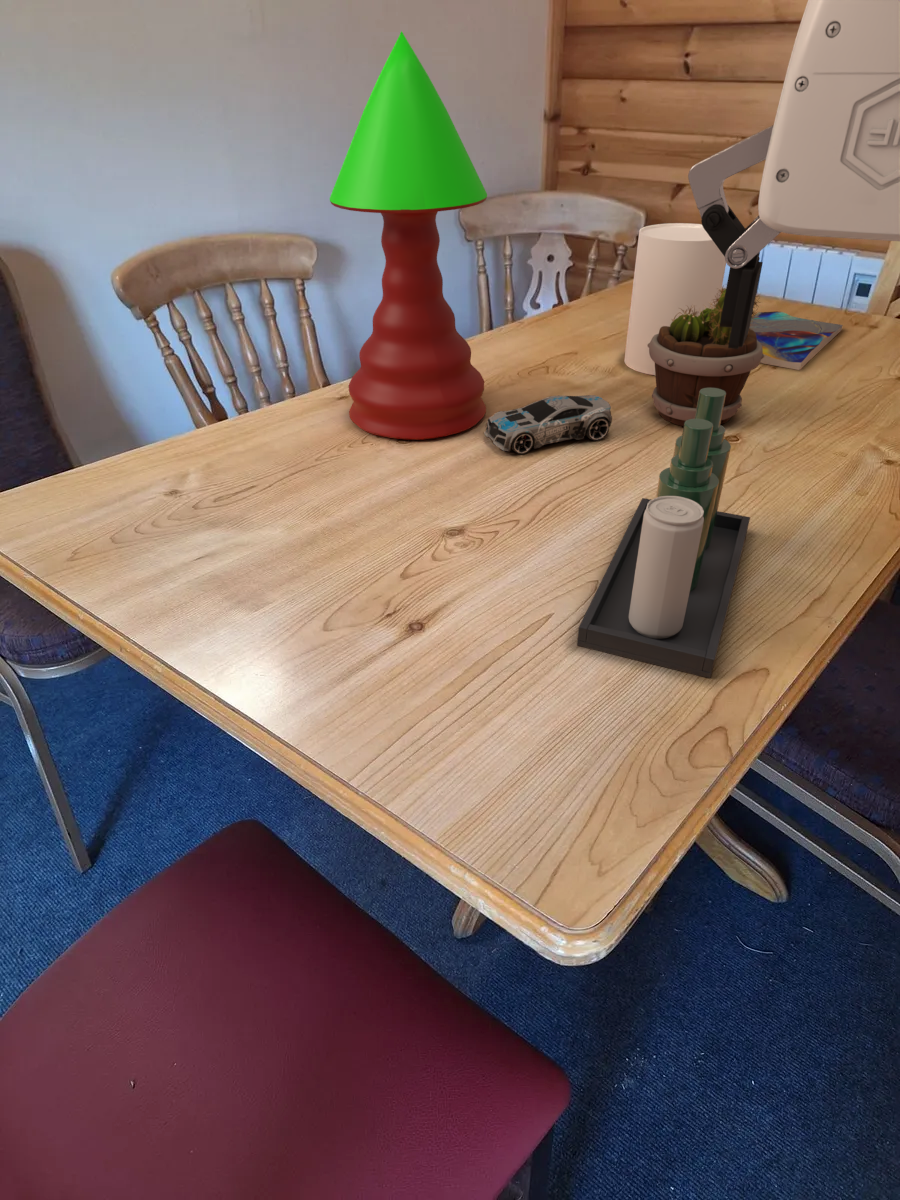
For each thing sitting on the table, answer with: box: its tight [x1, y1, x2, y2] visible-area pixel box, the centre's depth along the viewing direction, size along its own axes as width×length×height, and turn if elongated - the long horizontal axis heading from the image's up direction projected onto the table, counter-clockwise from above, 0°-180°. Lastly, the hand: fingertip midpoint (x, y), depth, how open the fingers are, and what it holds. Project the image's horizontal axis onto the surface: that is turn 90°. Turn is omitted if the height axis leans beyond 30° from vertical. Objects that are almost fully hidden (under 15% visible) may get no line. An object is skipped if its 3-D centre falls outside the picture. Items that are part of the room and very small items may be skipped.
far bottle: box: [672, 388, 732, 550], centre depth 77 cm, size 5×5×16 cm
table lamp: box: [329, 30, 488, 441], centre depth 100 cm, size 20×20×45 cm
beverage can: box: [629, 496, 704, 639], centre depth 67 cm, size 5×5×12 cm
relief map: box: [749, 310, 844, 371], centre depth 136 cm, size 25×15×2 cm, turn 144°
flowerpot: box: [647, 285, 764, 427], centre depth 105 cm, size 14×15×20 cm
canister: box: [623, 222, 727, 376], centre depth 123 cm, size 14×14×20 cm
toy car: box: [483, 394, 613, 455], centre depth 104 cm, size 7×17×5 cm, turn 111°
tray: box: [576, 497, 751, 679], centre depth 76 cm, size 12×26×2 cm, turn 156°
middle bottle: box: [655, 419, 719, 591], centre depth 72 cm, size 5×5×16 cm
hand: (832, 351), depth 41 cm, fingers open, 9 cm apart
